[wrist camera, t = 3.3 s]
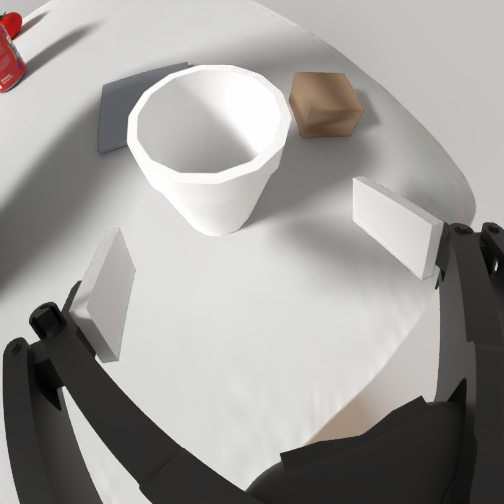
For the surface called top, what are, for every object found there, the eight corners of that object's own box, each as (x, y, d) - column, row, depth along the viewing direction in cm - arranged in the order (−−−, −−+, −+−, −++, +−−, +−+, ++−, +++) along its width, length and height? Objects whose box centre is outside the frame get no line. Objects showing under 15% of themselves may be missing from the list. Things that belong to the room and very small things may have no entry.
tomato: (28, 22, 40) (17, 1, 30) (24, 33, 38) (12, 9, 28) (0, 42, 38) (-12, 22, 29) (-5, 55, 36) (-19, 33, 27)
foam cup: (217, 148, 29) (209, 49, 16) (286, 200, 28) (321, 111, 15) (150, 210, 27) (98, 129, 14) (220, 273, 26) (205, 222, 13)
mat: (100, 154, 28) (97, 150, 27) (104, 89, 31) (102, 85, 30) (201, 126, 30) (200, 122, 29) (188, 66, 32) (187, 61, 32)
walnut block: (301, 138, 30) (311, 109, 25) (288, 101, 31) (295, 72, 27) (349, 136, 31) (364, 110, 26) (333, 100, 32) (344, 73, 27)
